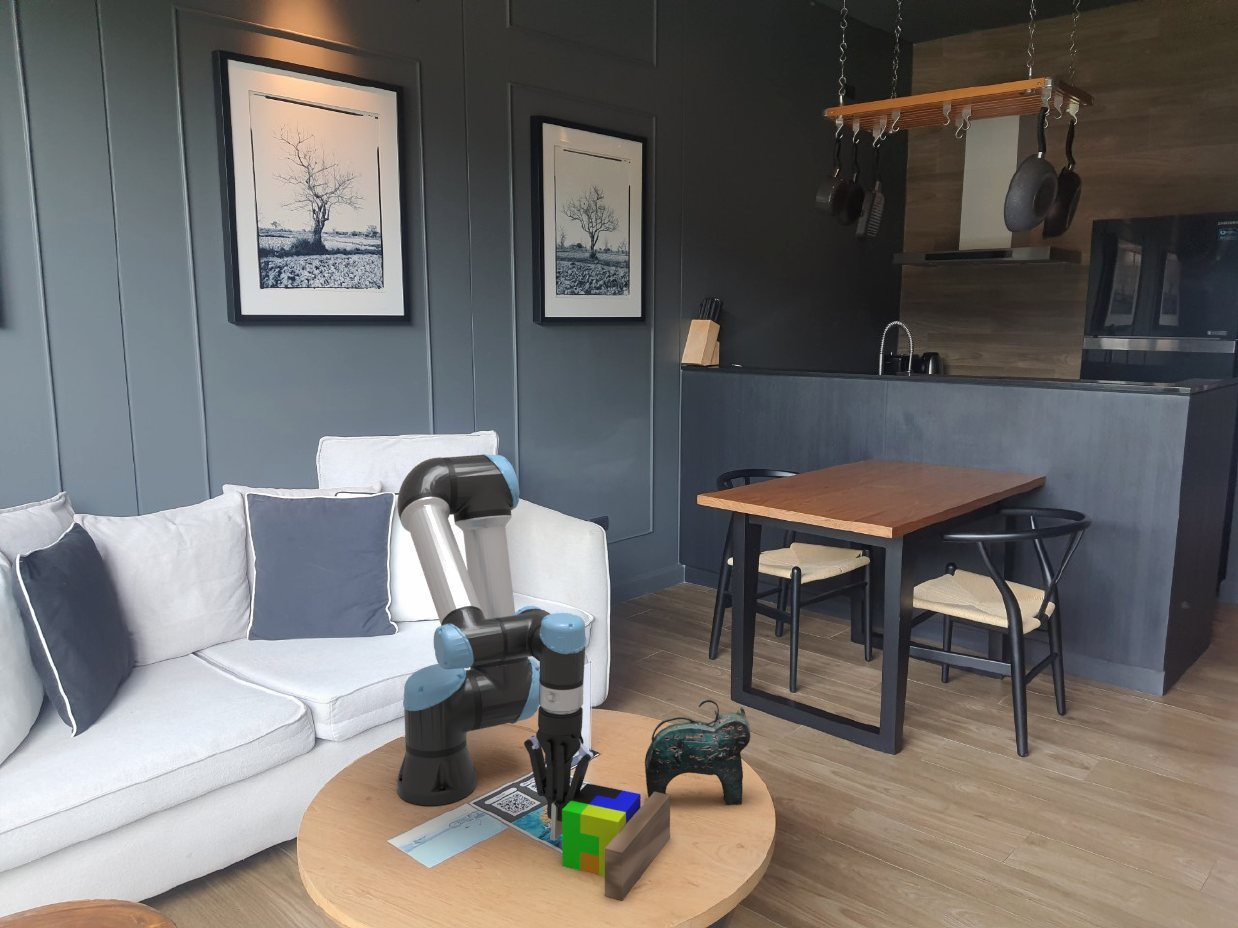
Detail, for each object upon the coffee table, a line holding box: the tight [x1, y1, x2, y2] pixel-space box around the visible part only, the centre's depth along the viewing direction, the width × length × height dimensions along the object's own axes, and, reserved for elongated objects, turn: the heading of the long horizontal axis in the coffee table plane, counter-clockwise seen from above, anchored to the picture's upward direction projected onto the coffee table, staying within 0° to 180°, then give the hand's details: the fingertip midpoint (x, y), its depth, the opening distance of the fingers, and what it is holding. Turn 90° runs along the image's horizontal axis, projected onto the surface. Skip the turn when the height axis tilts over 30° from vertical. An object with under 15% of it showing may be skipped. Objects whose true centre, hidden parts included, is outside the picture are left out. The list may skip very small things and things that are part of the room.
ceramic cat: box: [644, 698, 751, 806], centre depth 172 cm, size 20×6×20 cm, turn 92°
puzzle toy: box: [561, 783, 642, 877], centre depth 155 cm, size 10×10×10 cm
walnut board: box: [604, 792, 671, 901], centre depth 152 cm, size 3×20×8 cm, turn 155°
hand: (556, 836), depth 159 cm, fingers closed
